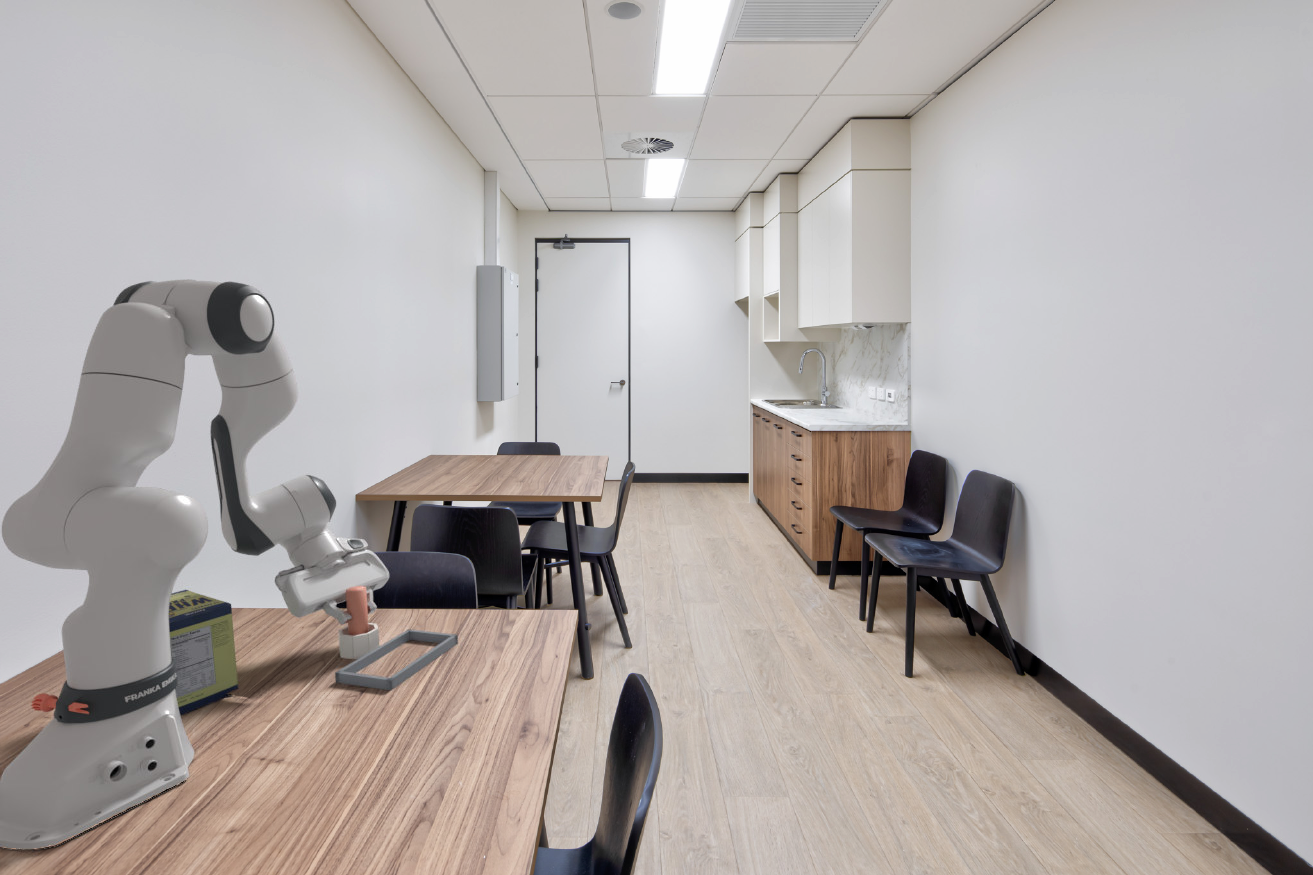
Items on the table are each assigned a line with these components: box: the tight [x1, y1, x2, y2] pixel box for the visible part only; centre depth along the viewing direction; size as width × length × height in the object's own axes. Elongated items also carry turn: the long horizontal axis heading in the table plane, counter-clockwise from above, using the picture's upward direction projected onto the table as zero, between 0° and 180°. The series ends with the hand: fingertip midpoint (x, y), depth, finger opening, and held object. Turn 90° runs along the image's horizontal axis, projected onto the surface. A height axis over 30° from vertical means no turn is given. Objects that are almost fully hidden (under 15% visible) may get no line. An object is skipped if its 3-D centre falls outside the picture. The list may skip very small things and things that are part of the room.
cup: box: [338, 622, 380, 660], centre depth 130 cm, size 7×7×5 cm
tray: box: [334, 628, 459, 691], centre depth 126 cm, size 20×11×2 cm, turn 164°
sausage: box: [345, 586, 369, 636], centre depth 130 cm, size 4×4×12 cm
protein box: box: [169, 589, 239, 716], centre depth 115 cm, size 10×16×16 cm
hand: (360, 616), depth 130 cm, fingers open, 4 cm apart
